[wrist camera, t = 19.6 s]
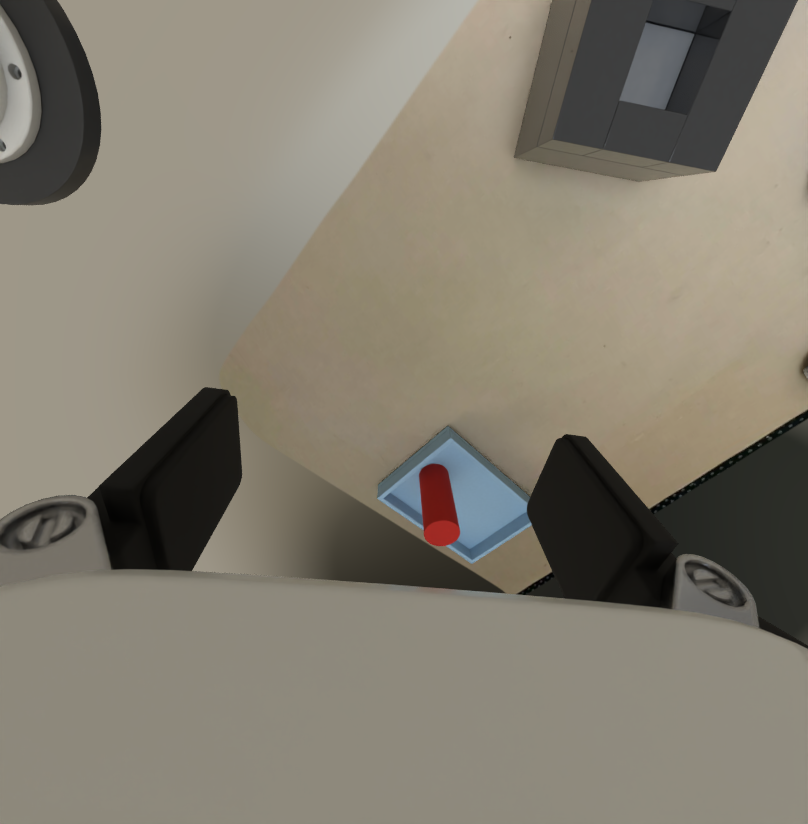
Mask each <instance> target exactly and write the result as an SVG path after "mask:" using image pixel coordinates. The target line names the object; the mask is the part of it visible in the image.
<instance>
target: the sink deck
mask: <svg viewBox="0 0 808 824" xmlns="http://www.w3.org/2000/svg"><path fill="white" fill-rule="evenodd" d="M797 1H798V0H552V4H551V8H550V12H549V16H548V20H547V25H546V29H545V33H544V37H543V41H542V45H541V49H540V53H539V57H538V61H537V65H536V69H535V73H534V77H533V82H532V86H531V90H530V94H529V98H528V102H527V106H526V110H525V114H524V118H523V122H522V126H521V130H520V134H519V139H518V143H517V147H516V151H515V155H514V158H517V159H522V160H528V161H533V162H538V163H543V164H549V165H554V166H559V167H564V168H569V169H575V170H580V171H585V172H590V173H596V174H601V175H606V176H611V177H616V178H622V179H627V180H632V181H637V182H641V181H649V180H656V179H664V178H671V177H679V176H687V175H694V174H702V173H709V172H716V170H717V168H718V166H719V164H720V162H721V160H722V158H723V156H724V154H725V152H726V150H727V147H728V145H729V143H730V141H731V139H732V137H733V135H734V133H735V131H736V129H737V127H738V124H739V122H740V120H741V118H742V116H743V114H744V112H745V110H746V108H747V106H748V104H749V101H750V99H751V97H752V95H753V93H754V91H755V89H756V87H757V85H758V83H759V81H760V78H761V76H762V74H763V72H764V70H765V68H766V66H767V64H768V62H769V60H770V58H771V55H772V53H773V51H774V49H775V47H776V45H777V43H778V41H779V39H780V37H781V35H782V33H783V30H784V28H785V26H786V24H787V22H788V20H789V18H790V16H791V14H792V12H793V10H794V7H795V5H796V3H797Z"/></svg>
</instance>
